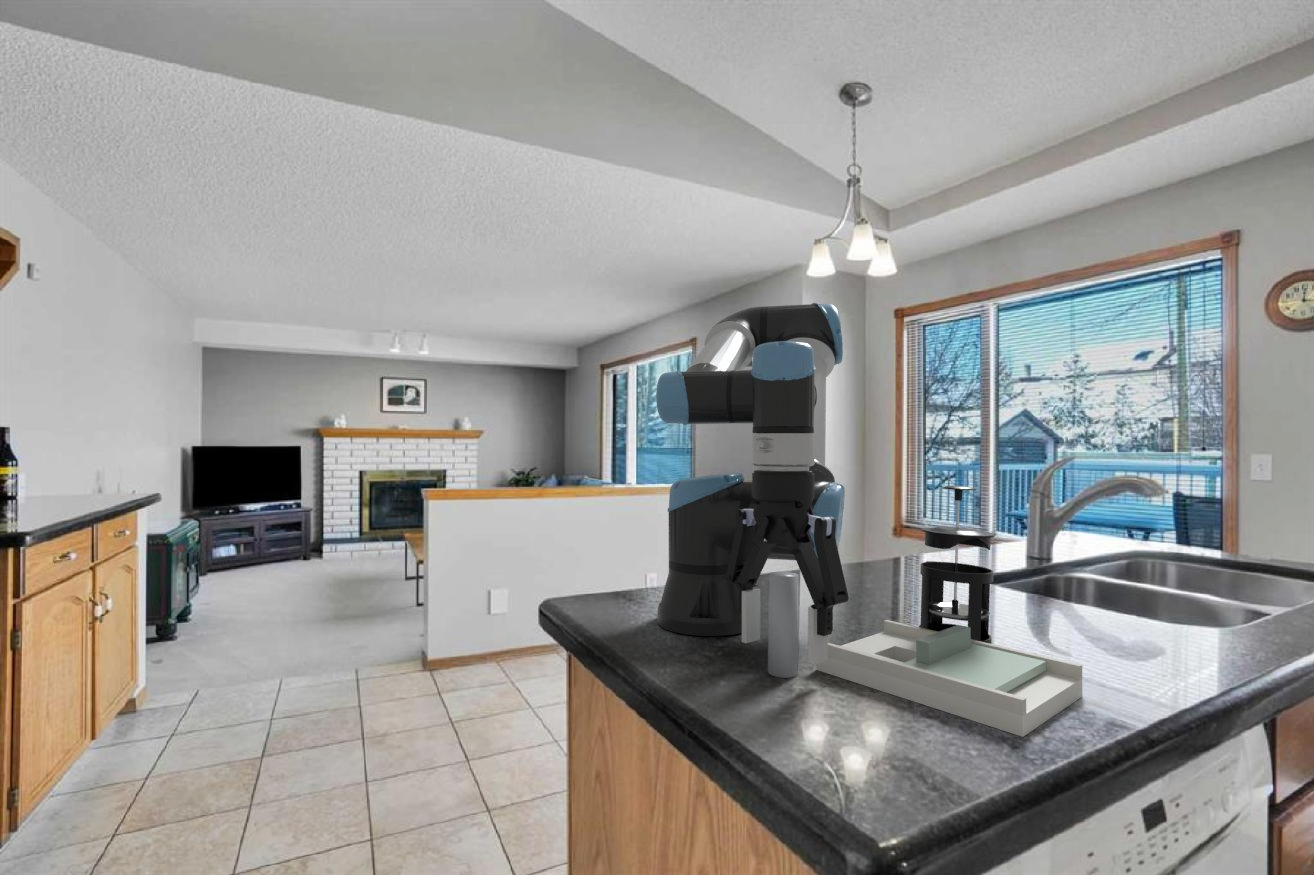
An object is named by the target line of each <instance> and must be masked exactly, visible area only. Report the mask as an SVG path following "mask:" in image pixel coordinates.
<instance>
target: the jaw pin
mask: <svg viewBox="0 0 1314 875" xmlns="http://www.w3.org/2000/svg"><path fill="white" fill-rule="evenodd" d="M767 606H768V607H767V608H768V610H767V611H768V613H767V614H768V618H767V619H768V620H767V625H768V626H767V627H768V628H767V630H768V631H767V633H768V634H767V643H768V644H767V673H768V674H769V676H770V675H771V676H773V677H777V678H784V679H785V678H786V679H787V678H790V679H791V678H795V677H797V676H798V675H799V574H798V573H795V572H792V571H791V572H789V571H771V572H769V573H768V604H767Z"/></svg>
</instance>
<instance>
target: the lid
mask: <svg viewBox="0 0 1314 875" xmlns="http://www.w3.org/2000/svg"><path fill="white" fill-rule="evenodd" d="M955 625H956V626H953V627H951V628H948V629H945V630H942V631H940V632H937V633H934V634H931V635H929V636H926V637H923V638H920V639H918V640H916V658H915V659H912V660H910V661H907V662H905V663H903V664H906V665H910V666H913V667H917V668H921V669H924V670H928V671H931V672H935V673H938V674H942V675H946V676H949V677H953V678H956V679H960V680H963V681H967V682H970V683H974V684H978V685H981V686H985V687H988V688H992V689H995V690H999V691H1002V692H1008V691H1010V690H1012V689H1013V688H1015V687H1017V686H1019V685H1021V684H1022V683H1024V682H1026V681H1028V680H1029V679H1031V678H1033V677H1035V676H1037V675H1038V674H1040V673H1042V672H1044V671H1046V661H1043V660H1038V659H1034V658H1030V657H1026V656H1021V655H1017V654H1013V653H1009V652H1004V651H1000V650H996V649H992V648H987V647H983V646H979V645H975V644H971V643H970V627H968V626H967V625H962V624H955Z"/></svg>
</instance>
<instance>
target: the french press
mask: <svg viewBox="0 0 1314 875" xmlns="http://www.w3.org/2000/svg"><path fill="white" fill-rule="evenodd" d="M941 489H943V490H951V491H952V490H954V501H956V515H955V516H956V517H955V526H944V525H943V526H935V527H934V526H933V527H931V526H930V527H922V528H921V532H923V533H924V546H927V547H930V548H936V549H941V550H947V549H948V550H949V549H952V548H953V547H954V548H955V550H954V552H955V553H954V562H950V561H948V562H947V561H934V560H931V561H930V560H929V561H928V560H927V561H925V562H921V563H920V575H921V590H920V591H921V595H920V597H921V600H920V621H919V622H920V623H919V626H918V627H920V628H924V629H929V630H933V631H937V632H940V631H942V630H945V629H948V628H951V627H953V626H956V625H957V624H954V623H947V622H945V623H943V619H948V620H956V621H965V622H967V627H970V639H972V640H977V641H981V642H985V643H990V644H992V636H991V635H990V634H989V631H990V630H989V626H990V624H989V622H990V614H991V613H990V593H991V592H990V591H991V588H990V587H991V586H990V585H991V584H992V583H993V582H994V570H992V569H991V568H988V567H984V566H980V565H974V564H969V563H968V564H967V563H960V562H959V545H964V546H972V547H978V548H983V549H986V550H988V551H991V543H992V542H991V541H992V540H991V539H992V538H995V535H996V534H995V533H992V532H987V531H982V530H980V529H979V530H978V529H975V528H970V527H961V526H960V507H961V506H960V503H961V502H962V501H963V492H964V491H977V489H976V488H973V487H971V486H966V485H965V486H964V485H945V486H942V487H941ZM960 501H961V502H960ZM945 582H949V583H953V584H954V585H953V599H952V600H951V601H949V602H948V601H944V586H945V584H944V583H945ZM958 584H968V604H965V603H959V600H958Z"/></svg>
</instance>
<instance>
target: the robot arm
mask: <svg viewBox="0 0 1314 875" xmlns="http://www.w3.org/2000/svg"><path fill="white" fill-rule="evenodd" d="M839 313H840V312H839V310H838V308H837V307H836V306H835V305H834V304H831V303H818V302H812V303H811V304H808V303H807V304H789V305H768V306H753V307H749V308H745V309H742V310H739V311H737V312H734V313H731V314H730V315H728V316H726V317H725V318H724V317H723V319H721V320H719V321H718V322H717V323H716V324H715V325H714V326H713V327H712V328H711V329H710V330H709V332H708V333H707V335H706V336H705V340H704V347H703V348H702V350H700V352H699V353H698V355H697V356H696V358H695V359H694V360H693V361H692V363H691V364H690V366H689V367H688V368H687V369H686V370H685V371H681V370H676V371H670V372H669V371H668V372H664V373H662V374H661V375H660V376H659V378H658V380H657V383H656V384H657V385H656V390H655V391H656V393H655V394H656V395H655V397H656V399H655V400H656V408H657V413H658V415H659V416H658V417H659V418H660V419H661V420H662V422H664V423H666V424H677V425H678V424H682V425H683V426H687V425H711V424H713V425H716V424H717V425H718V424H719V425H721V424H725V425H726V424H752V465H754V466H755V467H757V469H756V470H753V472H752V473H751V475H752V476H751V481H745V477H744V476H743V475H744V474H743V473H742V472H732V473H730V472H729V473H723V474H713V475H712V474H711V475H706V476H697V477H696V476H695V477H688V478H684V479H683V478H682V479H678V480H676V481H674V482H673V484H671V486H670V489H669V497H668V498H669V500H668V508H667V512H668V574H667V578H666V581H665V584H664V588H663V591H662V597H661V600H660V603H658V606H657V611H656V613H657V616H656V617H657V618H656V620H657V625H658V626H660V627H661V628H662V629H663V630H666V631H669V632H672V633H677V634H681V635H686V636H687V635H689V636H696V637H697V636H698V637H699V636H701V637H719V636H720V637H722V636H730V635H731V636H732V635H736V634H741V643H744V644H749V643H754V642H757V641H760V640H761V588H756V587H758V586H759V585H760V584H759V583H758V580H759V578H760V576H761V574H762V572H763V569H764V567H765V565H766V562H767V561H768V560H780V561H781V560H782V561H784V560H785V561H796V563H797V566H798V568H799V571H800V573H801V575H802V578H803V580H804V582H805V584H806V585H805V586H806V587H807V590H808V592H809V595H810V597H811V600H812V602H813V604H811V605H810V606H808V607H807V645H808V646H807V649H808V650H807V651H808V652H807V657H808V658H807V664H810V665H812V666H814V665H816V664H818V663H821V662H823V661H826V660H828V643H829V642H828V640H829V639H828V638H829V637H828V636H829V635H832V633H833V631H834V628H833V627H834V626H833V625H834V622H833V621H834V618H833V617H834V615H833V614H834V607H835V606H837V605H841V604H845V603H847V602H848V601H849V594H848V589H847V584H846V580H845V575H844V570H843V566H842V562H841V558H840V553H839V547H840V541H841V534H842V526H843V518H844V517H843V516H844V510H845V509H844V508H845V496H846V495H845V494H846V492H845V486H844V485H843V484H841V483H838V482H837V481H836V480H835V476H834V473H833V471H831V470H830V468H829V467H827V466H826V428H827V427H826V426H827V425H826V424H827V423H826V418H827V417H826V410H827V409H826V408H827V407H826V404H827V403H826V402H827V377H829V375H830V374H831V373H832V372H833V370H834V368H835V366H837V365H840V364H841V363H842V361H843V356H844V355H843V354H844V346H843V344H844V343H843V334H842V325H841V324H842V323H841V318H840V314H839ZM747 367H751V369H745V368H747Z"/></svg>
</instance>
